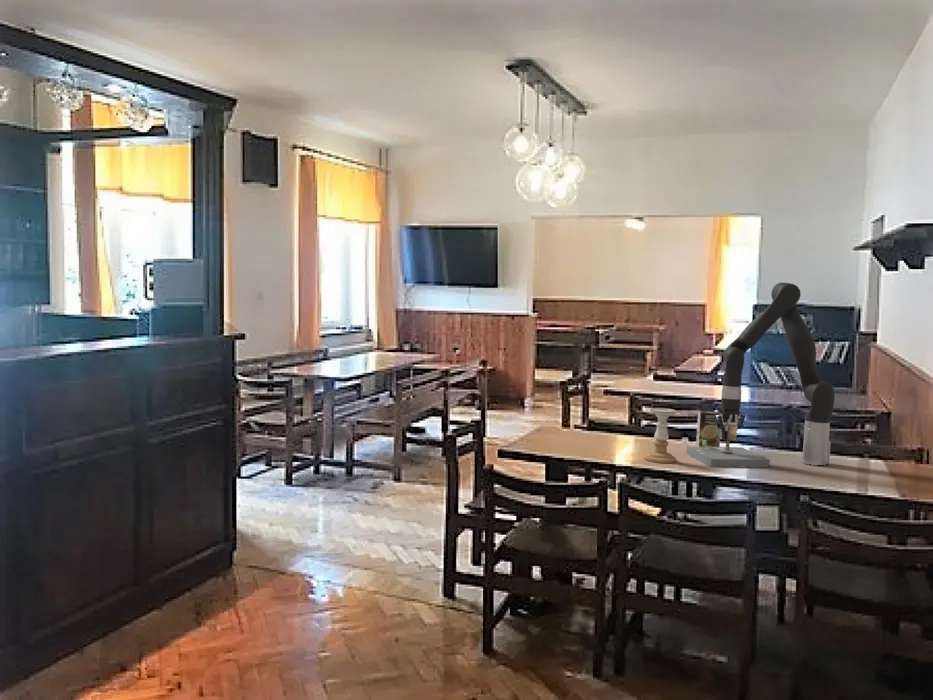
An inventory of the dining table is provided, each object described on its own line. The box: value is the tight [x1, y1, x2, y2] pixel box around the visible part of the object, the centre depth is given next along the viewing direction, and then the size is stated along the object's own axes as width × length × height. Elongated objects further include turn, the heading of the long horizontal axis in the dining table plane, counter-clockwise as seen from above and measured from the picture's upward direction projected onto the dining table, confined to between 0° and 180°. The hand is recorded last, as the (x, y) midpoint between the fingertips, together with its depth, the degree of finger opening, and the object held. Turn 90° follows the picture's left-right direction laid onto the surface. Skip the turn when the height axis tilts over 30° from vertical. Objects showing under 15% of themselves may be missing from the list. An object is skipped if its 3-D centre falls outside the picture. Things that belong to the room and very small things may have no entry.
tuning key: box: [702, 425, 738, 453], centre depth 348 cm, size 13×4×11 cm, turn 56°
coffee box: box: [695, 410, 721, 447], centre depth 369 cm, size 9×6×16 cm
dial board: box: [686, 440, 771, 468], centre depth 347 cm, size 24×24×6 cm
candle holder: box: [644, 407, 677, 464], centre depth 342 cm, size 12×12×20 cm
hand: (728, 439), depth 346 cm, fingers closed on tuning key, 3 cm apart
